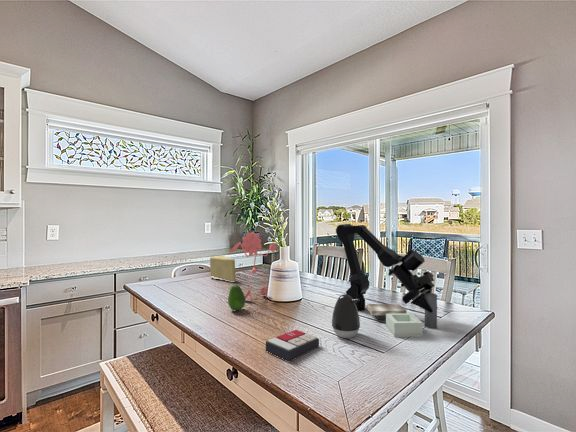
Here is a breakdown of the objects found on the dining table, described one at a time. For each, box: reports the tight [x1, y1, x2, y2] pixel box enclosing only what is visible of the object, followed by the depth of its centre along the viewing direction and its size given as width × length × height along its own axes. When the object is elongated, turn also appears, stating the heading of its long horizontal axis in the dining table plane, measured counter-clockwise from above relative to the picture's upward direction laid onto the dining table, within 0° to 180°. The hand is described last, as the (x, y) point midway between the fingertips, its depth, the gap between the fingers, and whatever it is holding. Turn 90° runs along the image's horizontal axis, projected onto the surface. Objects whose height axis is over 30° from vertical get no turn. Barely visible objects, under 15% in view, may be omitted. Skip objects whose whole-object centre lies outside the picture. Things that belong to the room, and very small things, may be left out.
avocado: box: [227, 284, 246, 311], centre depth 148 cm, size 8×8×12 cm
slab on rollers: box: [366, 303, 408, 321], centre depth 135 cm, size 14×9×4 cm, turn 90°
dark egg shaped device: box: [331, 293, 361, 339], centre depth 117 cm, size 10×10×15 cm
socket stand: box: [385, 312, 423, 338], centre depth 120 cm, size 10×10×5 cm
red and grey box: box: [265, 329, 320, 362], centre depth 108 cm, size 11×4×15 cm
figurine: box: [229, 230, 277, 302], centre depth 167 cm, size 15×26×35 cm, turn 128°
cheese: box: [209, 255, 236, 281], centre depth 208 cm, size 22×10×15 cm, turn 43°
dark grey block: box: [424, 292, 438, 330], centre depth 124 cm, size 4×4×12 cm
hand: (434, 310), depth 123 cm, fingers closed on dark grey block, 4 cm apart
